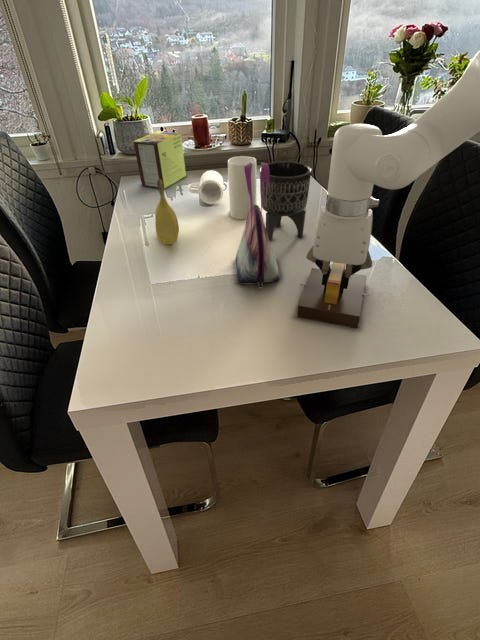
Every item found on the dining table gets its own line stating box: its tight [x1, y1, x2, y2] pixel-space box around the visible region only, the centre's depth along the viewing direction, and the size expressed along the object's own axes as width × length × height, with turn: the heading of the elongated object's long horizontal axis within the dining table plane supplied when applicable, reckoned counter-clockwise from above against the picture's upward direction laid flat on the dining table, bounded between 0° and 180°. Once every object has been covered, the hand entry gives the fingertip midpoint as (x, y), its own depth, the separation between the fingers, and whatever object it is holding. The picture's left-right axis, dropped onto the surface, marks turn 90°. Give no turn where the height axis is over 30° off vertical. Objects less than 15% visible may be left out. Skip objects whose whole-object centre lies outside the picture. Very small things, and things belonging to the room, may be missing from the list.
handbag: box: [235, 161, 281, 291], centre depth 82 cm, size 21×10×25 cm, turn 3°
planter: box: [259, 160, 312, 241], centre depth 99 cm, size 13×13×18 cm
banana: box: [154, 179, 180, 245], centre depth 97 cm, size 23×6×20 cm, turn 15°
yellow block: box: [324, 262, 346, 304], centre depth 76 cm, size 10×2×5 cm, turn 161°
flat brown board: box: [296, 267, 370, 329], centre depth 79 cm, size 15×14×3 cm
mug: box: [186, 169, 224, 206], centre depth 124 cm, size 12×10×8 cm
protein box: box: [132, 130, 187, 189], centre depth 137 cm, size 10×15×16 cm
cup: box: [227, 155, 258, 220], centre depth 111 cm, size 8×8×16 cm
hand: (334, 288), depth 78 cm, fingers closed on yellow block, 2 cm apart
